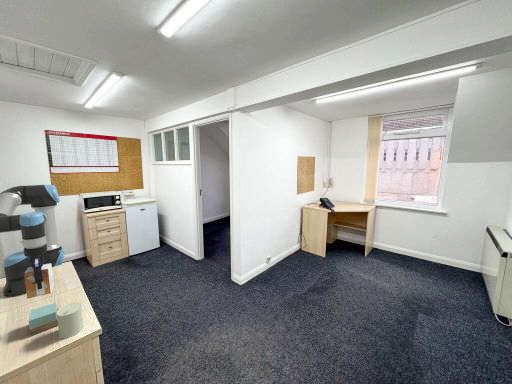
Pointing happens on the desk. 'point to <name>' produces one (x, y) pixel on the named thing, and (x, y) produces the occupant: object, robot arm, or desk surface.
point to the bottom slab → (43, 327)
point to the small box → (46, 278)
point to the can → (70, 320)
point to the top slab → (43, 315)
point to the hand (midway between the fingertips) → (41, 290)
